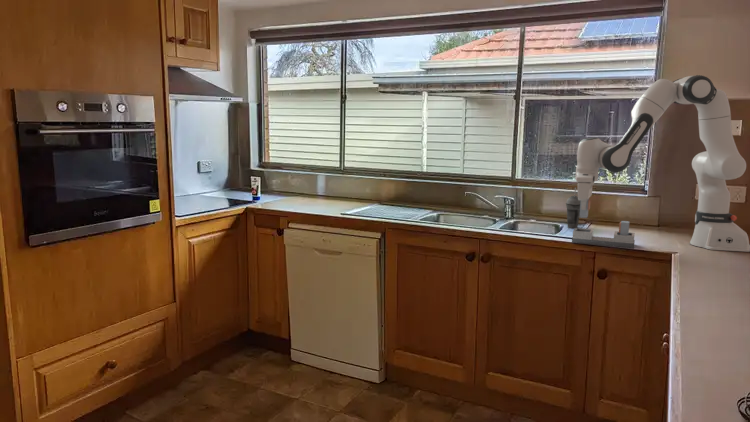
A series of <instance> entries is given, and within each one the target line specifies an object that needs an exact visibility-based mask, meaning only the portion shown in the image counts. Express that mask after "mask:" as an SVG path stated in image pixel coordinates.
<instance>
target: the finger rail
mask: <svg viewBox="0 0 750 422" xmlns="http://www.w3.org/2000/svg"><path fill="white" fill-rule="evenodd" d="M594 231H595V230H594V229H592V228H591V229H590V228H582V227H577V228H573V231H572V238H571V243H572V244H582V245H592V246H604V247H613V248H615V247H616V248H624V249H635V241H636V239H635V232H629V234H628V235H620V233H619V230H618V231H617V230H615V231H614V233H613V237H605V236H595V235H594Z"/></svg>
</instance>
